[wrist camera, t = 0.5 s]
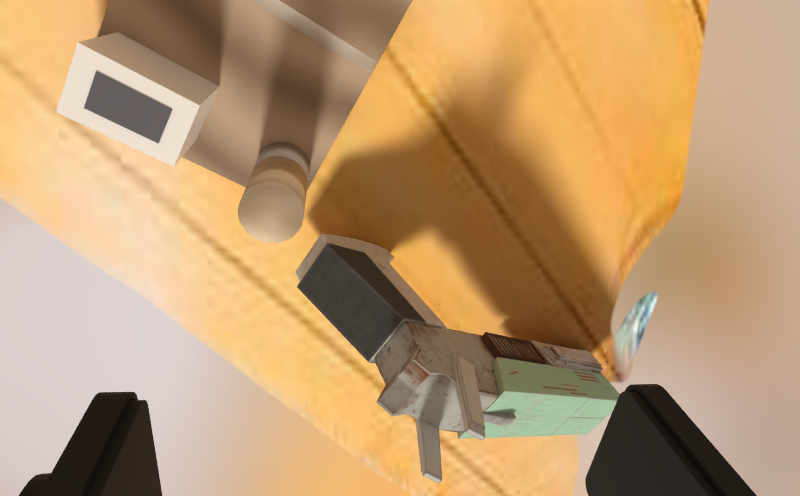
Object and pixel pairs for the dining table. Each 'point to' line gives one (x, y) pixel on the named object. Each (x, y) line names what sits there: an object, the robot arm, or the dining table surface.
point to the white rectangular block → (136, 96)
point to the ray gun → (449, 358)
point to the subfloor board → (265, 68)
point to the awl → (275, 193)
